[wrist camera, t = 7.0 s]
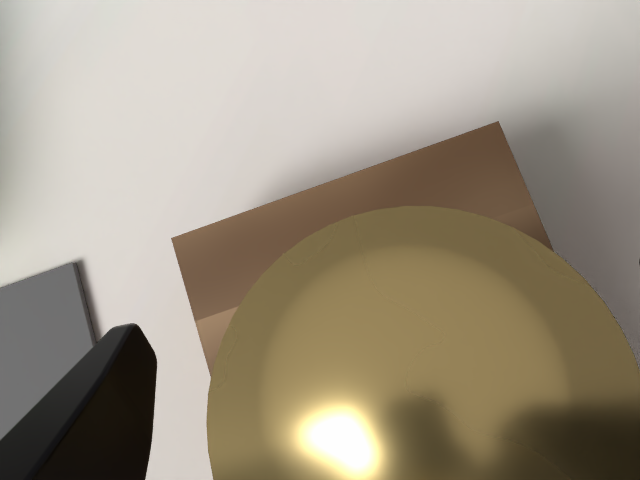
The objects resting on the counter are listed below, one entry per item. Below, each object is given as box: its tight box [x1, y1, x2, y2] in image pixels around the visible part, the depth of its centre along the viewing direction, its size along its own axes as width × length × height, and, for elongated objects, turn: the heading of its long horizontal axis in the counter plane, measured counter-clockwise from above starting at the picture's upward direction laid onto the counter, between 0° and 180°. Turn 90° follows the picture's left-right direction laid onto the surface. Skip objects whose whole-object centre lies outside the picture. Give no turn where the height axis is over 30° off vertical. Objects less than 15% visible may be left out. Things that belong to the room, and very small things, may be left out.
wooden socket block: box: [171, 121, 554, 376], centre depth 17 cm, size 11×11×4 cm
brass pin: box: [207, 206, 640, 480], centre depth 12 cm, size 4×4×15 cm
